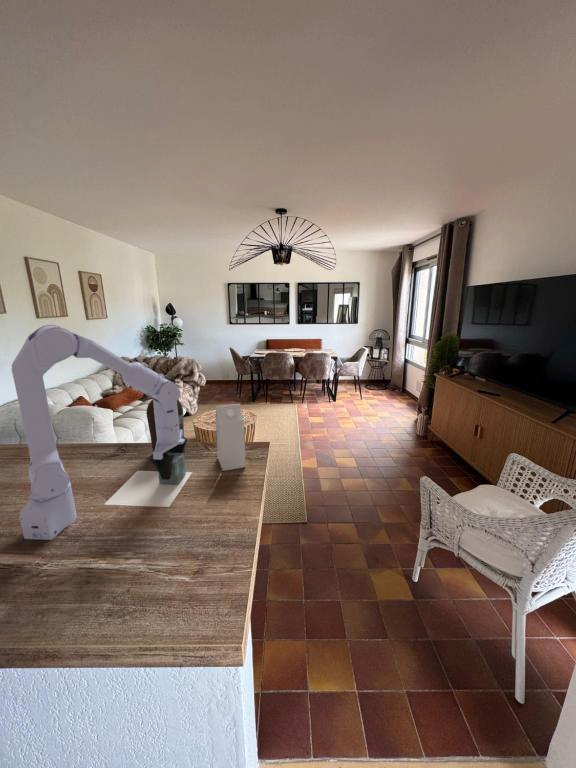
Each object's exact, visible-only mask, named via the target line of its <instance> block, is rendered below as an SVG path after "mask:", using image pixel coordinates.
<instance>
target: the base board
mask: <svg viewBox="0 0 576 768" xmlns="http://www.w3.org/2000/svg"><path fill="white" fill-rule="evenodd" d="M192 474H193V471H192V472H191V471H186V475H185V477H184V478H183V479H182V481H181V482H180V484H179V485H166V484H159V475H158V470H155V471H154V470H137V471H136V472H135V473H134V474H133V475H132V476H131V477H130V478H129V479H127V481H126V482H125V483H124V484H123V485H122V486H121V487H120V488H119V489H118V490H117V491H116V492H115V493H114V494H113V495H112V496H111V497H110V498H109V499H108V500H107V501H105V503H104V504H103V505H105V506H128V507H129V506H131V507H154V508H155V507H157V508H158V507H159V508H160V507H161V508H162V507H163V508H170V506H171V505H172V504H173V502H174V501H175V499H176V498H177V496H178V495H179V493H180V491H181V490H182V488H183V487H184V485H186V483H187V482H188V479H189V478H190V477H191V475H192Z"/></svg>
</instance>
